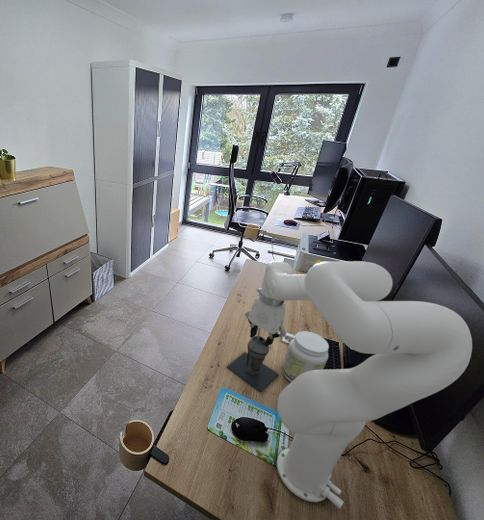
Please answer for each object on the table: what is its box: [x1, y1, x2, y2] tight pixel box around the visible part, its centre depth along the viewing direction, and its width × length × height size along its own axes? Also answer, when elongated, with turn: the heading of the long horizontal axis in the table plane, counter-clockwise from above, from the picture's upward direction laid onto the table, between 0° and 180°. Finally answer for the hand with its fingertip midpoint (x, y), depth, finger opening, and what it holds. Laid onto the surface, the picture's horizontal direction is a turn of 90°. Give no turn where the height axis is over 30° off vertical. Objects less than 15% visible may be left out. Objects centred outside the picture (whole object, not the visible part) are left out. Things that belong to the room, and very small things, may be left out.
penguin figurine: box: [304, 259, 329, 274], centre depth 161 cm, size 20×11×15 cm, turn 62°
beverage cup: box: [246, 327, 270, 375], centre depth 104 cm, size 7×7×20 cm
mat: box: [226, 352, 279, 393], centre depth 109 cm, size 14×12×1 cm
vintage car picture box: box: [281, 331, 296, 345], centre depth 121 cm, size 15×7×4 cm, turn 56°
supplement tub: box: [281, 330, 330, 383], centre depth 103 cm, size 12×12×17 cm
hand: (260, 339), depth 102 cm, fingers open, 5 cm apart
